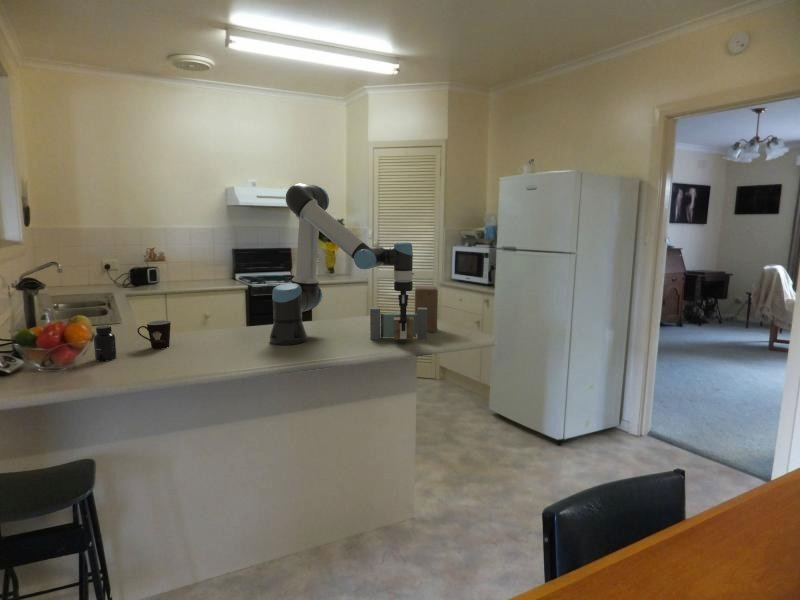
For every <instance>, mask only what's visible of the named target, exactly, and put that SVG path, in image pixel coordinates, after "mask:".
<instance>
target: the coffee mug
mask: <svg viewBox="0 0 800 600" xmlns="http://www.w3.org/2000/svg"><path fill="white" fill-rule="evenodd" d="M171 324H172V323H171V321H170V320H164V319H163V320H162V319H161V320H153V321H152V320H151V321H148V322H146V325H141V326H139V327H138V328H137V333H138V335H139V336H140V337H142V338H144V339H146V340H147V341H149V342H150V345H151V349H152V348H153V350H161V348H164V349H168V348H170V342H171ZM143 328H144V329H146V331H147V332H148V336H149V338H148V337H146V336H145V335H143V334H142V333H140V329H143ZM167 347H168V348H167Z"/></svg>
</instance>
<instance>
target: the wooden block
mask: <svg viewBox="0 0 800 600" xmlns="http://www.w3.org/2000/svg"><path fill="white" fill-rule="evenodd" d="M438 292H439V291H438V289H437V286H436V285H435V286H434V285H425V286H424V285H417V286H415V287H414V314H416V333H417V319H418V308H427V334H429V333H430V334H432V333H435V334H436V333H437V332H438V296H439V295H438V294H439V293H438Z"/></svg>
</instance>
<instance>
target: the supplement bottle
mask: <svg viewBox="0 0 800 600" xmlns="http://www.w3.org/2000/svg"><path fill="white" fill-rule="evenodd" d="M112 332H113V330H112V326H111V325H99V326H96V327H95V333H96V334H95V335H94V336H93V350H94V359H95V361H97V360H99V361H98V362H107V361H106V360H110V361H113V360H112V359H114V360H115V359H116V358H117V342H116V335H115V333H112Z"/></svg>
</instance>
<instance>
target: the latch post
mask: <svg viewBox="0 0 800 600" xmlns="http://www.w3.org/2000/svg"><path fill="white" fill-rule="evenodd" d="M416 338H417V340H428V333H427V308H418V319H417V332H416Z"/></svg>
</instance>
